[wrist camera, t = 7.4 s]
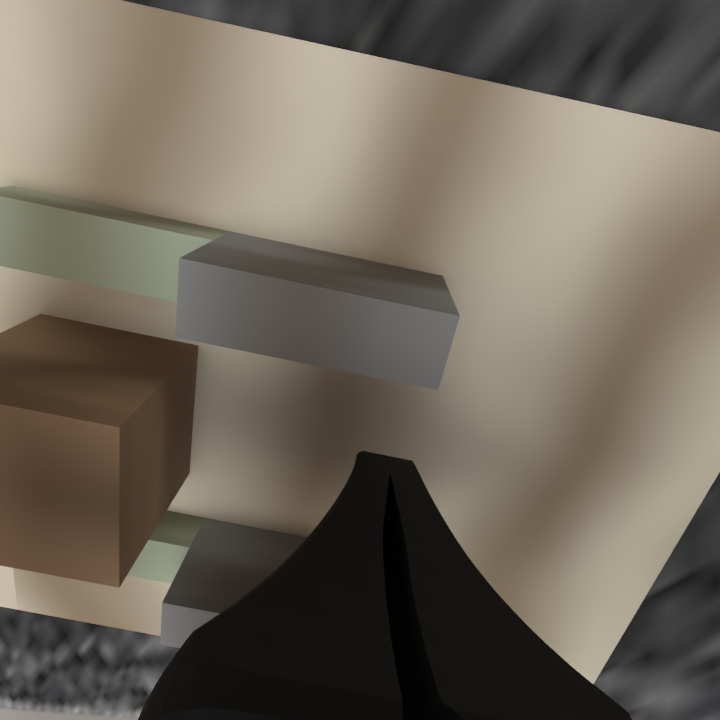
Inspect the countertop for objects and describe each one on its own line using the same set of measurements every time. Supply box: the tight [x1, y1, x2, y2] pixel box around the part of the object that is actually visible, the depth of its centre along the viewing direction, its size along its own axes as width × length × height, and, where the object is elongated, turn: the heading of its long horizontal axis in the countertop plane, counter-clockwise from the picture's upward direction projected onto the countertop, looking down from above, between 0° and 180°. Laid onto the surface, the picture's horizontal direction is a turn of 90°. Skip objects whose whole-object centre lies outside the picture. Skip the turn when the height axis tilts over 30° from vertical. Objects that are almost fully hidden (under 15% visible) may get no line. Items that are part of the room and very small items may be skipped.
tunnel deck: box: [0, 0, 720, 684], centre depth 13 cm, size 27×18×5 cm, turn 79°
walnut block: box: [0, 314, 198, 588], centre depth 11 cm, size 4×4×4 cm
